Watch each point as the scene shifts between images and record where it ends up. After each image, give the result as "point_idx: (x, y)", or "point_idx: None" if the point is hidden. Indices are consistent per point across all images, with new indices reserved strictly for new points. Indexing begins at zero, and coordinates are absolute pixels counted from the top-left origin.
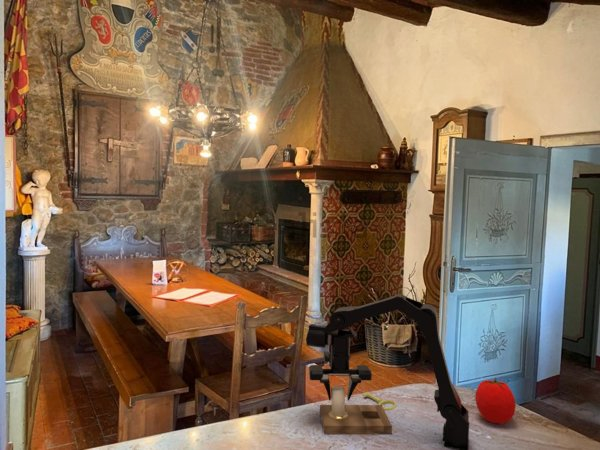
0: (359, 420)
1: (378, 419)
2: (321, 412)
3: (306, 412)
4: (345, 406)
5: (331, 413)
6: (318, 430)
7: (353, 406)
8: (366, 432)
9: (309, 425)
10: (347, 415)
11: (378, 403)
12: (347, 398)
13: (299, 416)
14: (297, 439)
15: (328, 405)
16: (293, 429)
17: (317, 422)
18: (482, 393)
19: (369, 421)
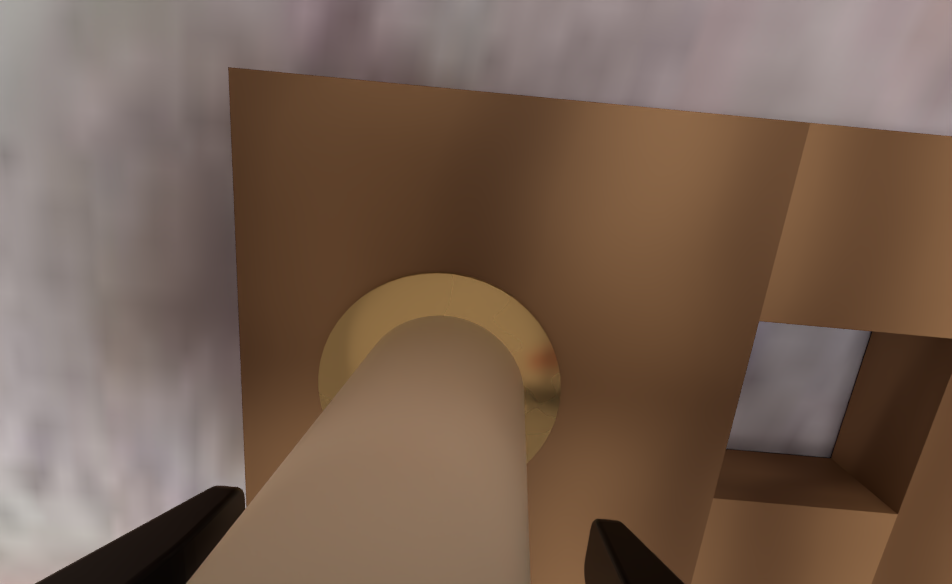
0: (645, 531)
1: (866, 527)
2: (242, 286)
3: (114, 68)
4: (596, 159)
5: (356, 366)
6: (240, 466)
7: (713, 167)
8: None
9: (157, 373)
10: (542, 431)
11: None
12: (594, 547)
13: (39, 169)
14: None
15: (353, 99)
16: (10, 430)
17: (238, 322)
18: None
19: (745, 556)
